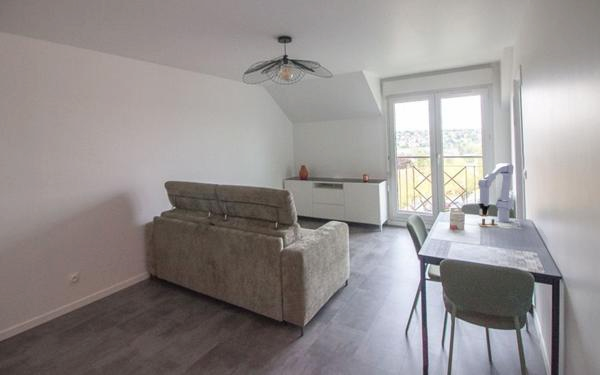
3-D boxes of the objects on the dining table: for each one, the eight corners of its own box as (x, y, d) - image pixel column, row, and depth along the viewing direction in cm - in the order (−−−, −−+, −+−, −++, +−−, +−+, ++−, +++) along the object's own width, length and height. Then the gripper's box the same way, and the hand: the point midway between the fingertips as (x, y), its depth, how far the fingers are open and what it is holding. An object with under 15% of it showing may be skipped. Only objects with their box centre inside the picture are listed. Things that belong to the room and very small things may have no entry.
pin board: (477, 223, 243) (477, 217, 243) (495, 224, 239) (496, 217, 239) (480, 227, 234) (480, 220, 233) (499, 227, 230) (499, 220, 229)
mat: (495, 223, 242) (495, 222, 242) (509, 223, 239) (509, 223, 239) (498, 226, 234) (498, 225, 234) (513, 226, 231) (513, 226, 231)
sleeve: (483, 214, 240) (484, 208, 239) (489, 216, 234) (489, 209, 234) (477, 215, 239) (478, 208, 238) (483, 216, 233) (483, 210, 233)
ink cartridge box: (452, 229, 230) (452, 209, 229) (449, 227, 235) (449, 207, 233) (464, 229, 230) (465, 209, 228) (461, 227, 234) (462, 207, 233)
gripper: (476, 193, 243) (475, 211, 245) (480, 197, 229) (479, 215, 231) (486, 194, 241) (486, 212, 242) (491, 197, 227) (490, 216, 229)
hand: (483, 213), depth 237 cm, fingers closed on sleeve, 5 cm apart
